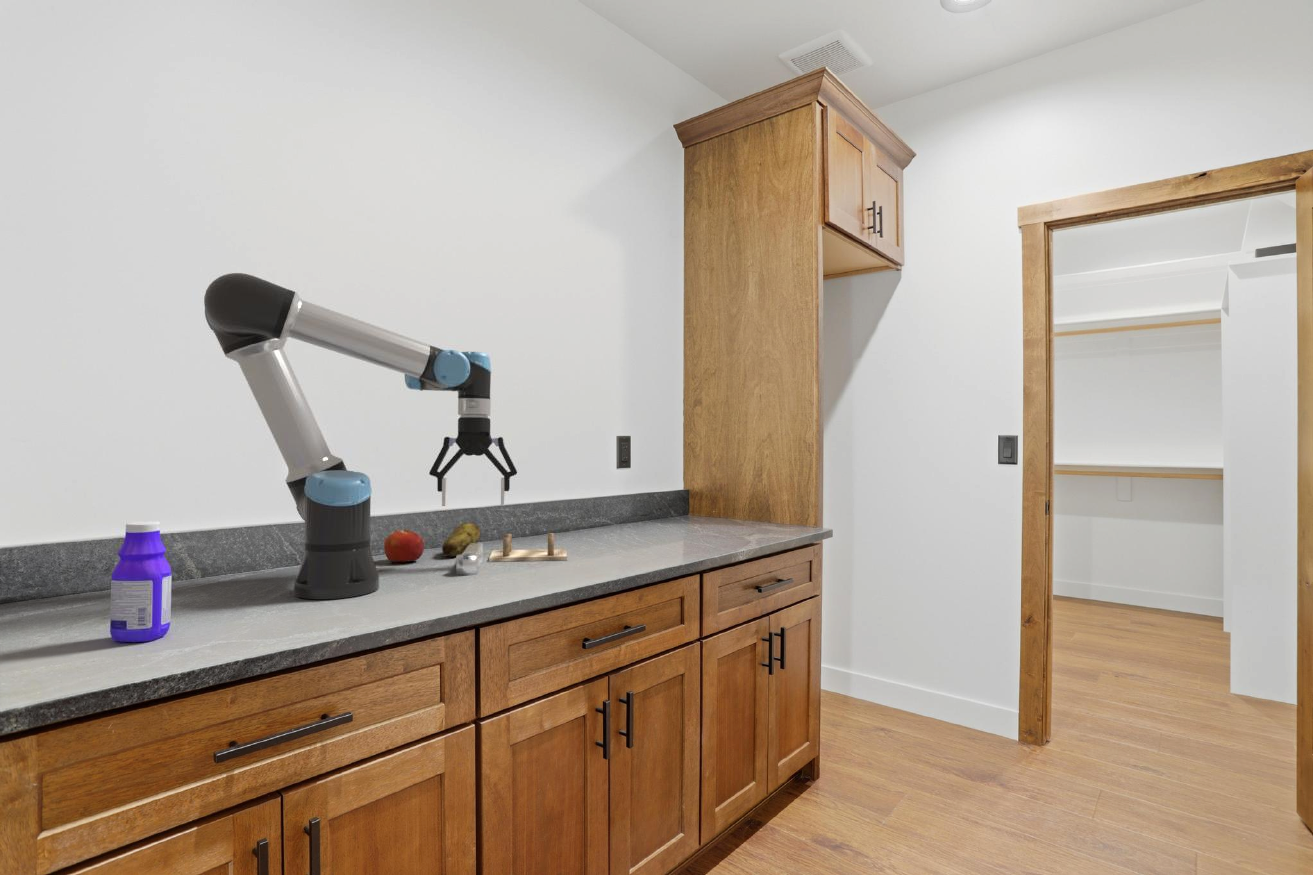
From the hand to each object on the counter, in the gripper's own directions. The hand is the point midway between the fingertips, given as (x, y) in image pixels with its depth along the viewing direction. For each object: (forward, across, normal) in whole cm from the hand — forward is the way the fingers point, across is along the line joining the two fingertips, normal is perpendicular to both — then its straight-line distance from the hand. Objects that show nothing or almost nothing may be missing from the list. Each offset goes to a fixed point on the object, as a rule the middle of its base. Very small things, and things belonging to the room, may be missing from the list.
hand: (473, 505), depth 159 cm
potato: (+14, -5, +15) cm, 21 cm away
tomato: (+14, -17, +6) cm, 23 cm away
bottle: (+14, -42, -54) cm, 70 cm away
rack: (+14, +13, +9) cm, 21 cm away
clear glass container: (+14, 0, -2) cm, 14 cm away
